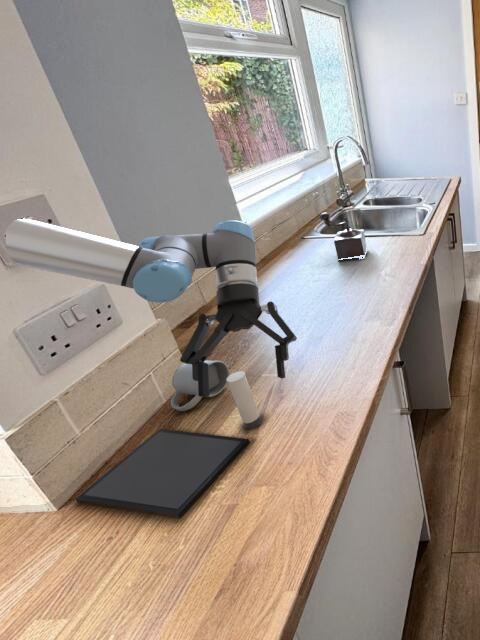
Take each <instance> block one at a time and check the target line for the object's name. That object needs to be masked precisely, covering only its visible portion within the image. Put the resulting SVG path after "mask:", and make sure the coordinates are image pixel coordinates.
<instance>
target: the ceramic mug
mask: <svg viewBox="0 0 480 640" xmlns="http://www.w3.org/2000/svg"><path fill="white" fill-rule="evenodd" d="M204 362H205V363H207V364H208V375H209V396H208V397H207V398H212V397H215V396H217V395H219V394H220V393H221V392H222V391H223V390H224V389H225V388H226V386H227V385H228V383H227V380H226V379H227V377H228V376H229V375H230V370H229V367H228V365H227V364H226V363H225V362H224V361H222V360H205V361H204ZM171 381H172V387H173V389H174V390H175V393H174V394H173V396H172V397H171V400H170V406H171V407H172V408H173V409H174V410H176V411H178V412H187V411H188V410H190V409H192V408H194V407H195V406H196V405H197V404H198V403H200V401H201V400H202V399H203V397H201V396H198V381H195V380H193V378H192V364H186V363H182V364H181V365H179V367H177V368H176V369H175V371H174V373H173V375H172V379H171ZM182 395H189V396H190V395H191V396H194V397H193V398H192V399H191V400H189V402H187V403H186V404H184V405H182V406H180V405H179V404H178V402H179V400H180V399H181V397H182Z"/></svg>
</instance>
